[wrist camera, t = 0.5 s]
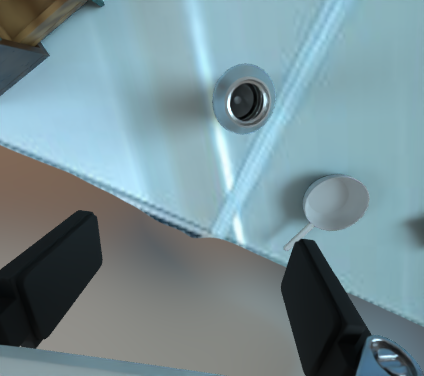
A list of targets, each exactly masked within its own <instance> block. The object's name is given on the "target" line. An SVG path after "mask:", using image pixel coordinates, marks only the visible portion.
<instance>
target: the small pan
mask: <svg viewBox="0 0 424 376" xmlns="http://www.w3.org/2000/svg"><path fill="white" fill-rule="evenodd" d="M369 200H370V199H369V192H368V190H367V188H366V186H365V185H364V184H363V183H361V182H360V181H359V180H357V179H355V178H352V177H350V176H347V175H342V174H335V175H329V176H325V177H323V178H320V179H318V180H317V181H315V182H314V183H313V184H311V186H310V187H309V188H308V190H307V191H306V193H305V195H304V199H303V210H304V213H305V215H306V217H307V219H308V221H309V223H308V224H307V225H306V226H305V227H304V228H303V229H302V230H301V231H300V232H299V233H298V234H297V235H296V236H294V237H293V238H292V239H291V240H290V241H289V242H288V243H287V244H286V245H285V246H284V247H283V248H284V250H285V251H289V250H290V249H291V248H292V247H293V246H294V243H295V242H296V241H299V240H300V239H302V238H303V237H304V236H305V235H306V234H307V233H308V232H310V231H311V230H312V229H313V228H314V227H316V228H319V229H321V230H326V231H337V230H342V229H345V228H347V227H349V226H351V225H353V224H355V223H356V222H357V221H358V220H360V219H361V218H362V216H363V215H364V214H365V212H366V210H367V208H368V206H369Z"/></svg>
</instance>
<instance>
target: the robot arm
mask: <svg viewBox="0 0 424 376" xmlns="http://www.w3.org/2000/svg"><path fill="white" fill-rule="evenodd" d="M101 265H102V252H101V244H100V236H99V229H98V221H97V217H96V216H95V215H94V214H93V212H89V211H82V210H78V211H76V212H75V213H74V214H73V215H71V216H70V217H69V218H67V219H66V220H65V221H63V222H62V223H61V224H60V225H58V226H57V227H55V228H54V229H53V230H52V231H50V232H49V233H48V234H46V235H45V236H44V237H43V238H41V239H40V240H39V241H37V242H36V243H35V244H33V245H32V246H31V247H29V248H28V249H27V250H26V251H24V252H23V253H22V254H20V255H19V256H18V257H16V258H15V259H14V260H12V261H11V262H10V263H8V264H7V265H6V266H4V267H3V268H2V269H1V270H0V376H225V375H218V374H211V373H205V372H198V371H191V370H184V369H177V368H170V367H162V366H156V365H149V364H142V363H134V362H128V361H120V360H113V359H106V358H99V357H92V356H91V357H90V356H84V355H76V354H69V353H62V352H55V351H47V350H40V349H36V347H37V346H38V345H39V344H40V343H41V341H42V340H43V339H46V338H47V337H48V336H49V335H50V334H51V333H52V331H53V330H54V329H55V327H56V326H57V325H58V323H59V322H60V321H61V319H62V318H63V317H64V315H65V314H66V313H67V311H68V310H69V309H70V307H71V306H72V305H73V303H74V302H75V301H76V299H77V298H78V297H79V295H80V294H81V293H82V291H83V290H84V288H85V287H86V286H87V284H88V283H89V282H90V280H91V279H92V278H93V276H94V275H95V274H96V272H97V271H98V270H99V268H100V266H101ZM281 292H282V295H283V299H284V303H285V306H286V310H287V314H288V317H289V321H290V325H291V328H292V332H293V335H294V339H295V343H296V346H297V350H298V353H299V357H300V361H301V364H302V368H303V371H304V374H305V375H306V376H424V374H423V372H422V370H421V368H420V366H419V365H418V363H417V362H416V361H415V359H414V358H413V357H412V356H411V355H410V354H409V353H408V352H407V351H406V350H405V349H404V348H402V347H401V346H400V345H398V344H397V343H396V342H394V341H392V340H390V339H388V338H386V337H383V336H379V335H371V333H370V331H369V330H368V328H367V326H366V325H365V323H364V322H363V320H362V318H361V316H360V315H359V313H358V311H357V310H356V308H355V306H354V305H353V303H352V301H351V300H350V298H349V297H348V295H347V293H346V292H345V290H344V288H343V287H342V285H341V283H340V282H339V280H338V278H337V277H336V275H335V274H334V272H333V271H332V269H331V267H330V266H329V264H328V262H327V261H326V259H325V257H324V256H323V254H322V252H321V251H320V249H319V247H318V246H317V244H316V242H315V241H314V240H308V239H300V240H299V241H296V242H295V243H294V246H293V249H292V252H291V256H290V259H289V262H288V265H287V268H286V271H285V275H284V277H283V280H282V283H281ZM20 345H21V347H19V346H20ZM23 347H26V348H23ZM32 348H33V349H32Z"/></svg>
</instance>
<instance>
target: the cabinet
mask: <svg viewBox="0 0 424 376" xmlns="http://www.w3.org/2000/svg"><path fill="white" fill-rule="evenodd" d="M48 56H50V55H49V54H48V52H47V51H46V50H45V48H44V47H43V45H42V44H41V43H40V42H39V43H38V44H37V45H35V46H30V45H26V44H22V43H18V42H15V41H11V40H7V39H3V38H0V96H1V95H2V94H3V93H4V92H6V91H7V90H8V89H9V88H11V87H12V86H13V85H14V84H15V83H17V82H18V81H19V80H20V79H22V78H23V77H24V76H25V75H26V74H28V73H29V72H30V71H31V70H33V69H34V68H35V67H36V66H37V65H39V64H40V63H41V62H42V61H44V60H45V59H46V58H47V57H48Z"/></svg>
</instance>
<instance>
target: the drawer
mask: <svg viewBox="0 0 424 376" xmlns="http://www.w3.org/2000/svg"><path fill="white" fill-rule="evenodd" d="M87 1H88V0H0V38H3V39H7V40H11V41H15V42H18V43H22V44H26V45H30V46H35V45H37V44H38V43H39V42H40V41H41V40H42V39H44V38H45V37H46V36H47V35H48V34H50V33H51V32H52V31H53V30H54V29H55V28H57V27H58V26H59V25H60V24H61V23H62V22H64V21H65V20H66V19H67V18H68V17H69V16H71V15H72V14H73V13H74V12H75V11H76V10H78V9H79V8H80V7H81V6H82V5H83V4H85V3H86V2H87ZM92 1H93V2H95V3H96V4H98V5H99V6H101V7H102V6H103V5H105V4H104V2H103V0H92Z"/></svg>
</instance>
